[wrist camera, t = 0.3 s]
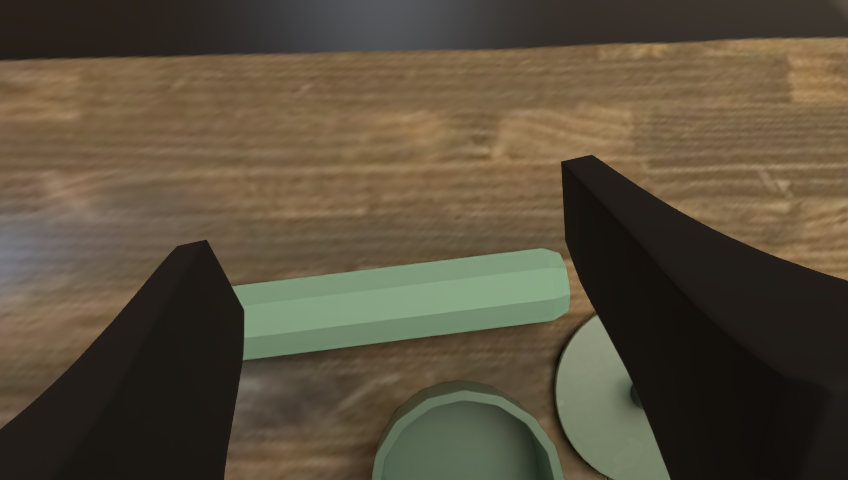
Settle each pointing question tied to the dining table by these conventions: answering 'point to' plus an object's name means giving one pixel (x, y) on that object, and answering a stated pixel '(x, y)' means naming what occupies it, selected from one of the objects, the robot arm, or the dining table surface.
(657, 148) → the dining table surface
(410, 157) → the dining table surface
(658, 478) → the lid
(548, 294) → the green octagonal rod
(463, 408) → the pan
